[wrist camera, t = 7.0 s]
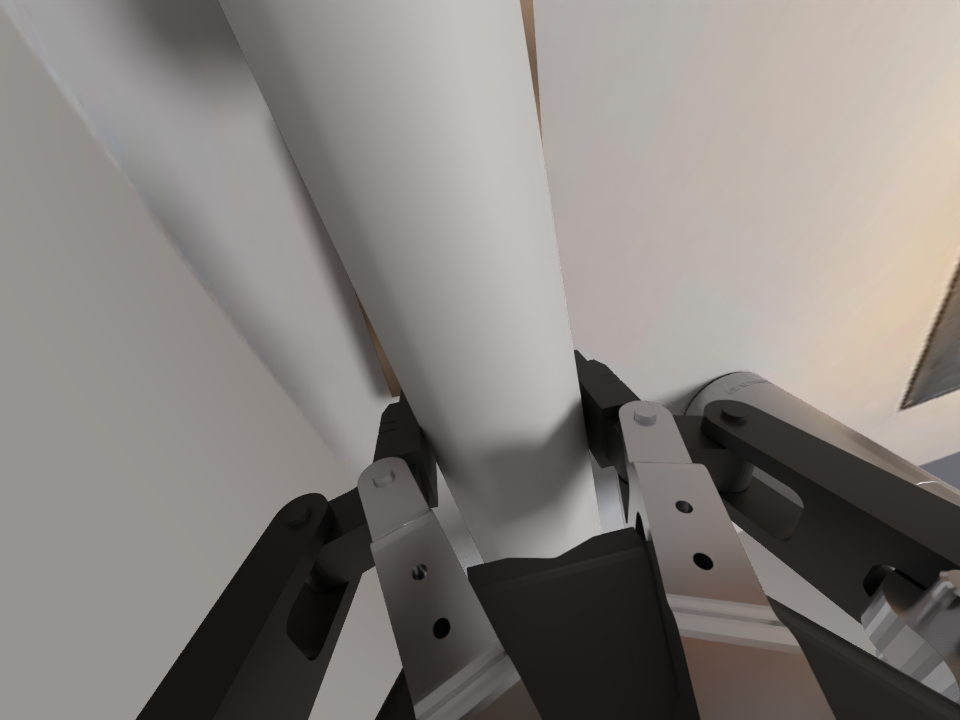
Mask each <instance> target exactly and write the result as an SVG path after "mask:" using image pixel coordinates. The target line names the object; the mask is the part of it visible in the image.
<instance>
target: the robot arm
mask: <svg viewBox="0 0 960 720" xmlns="http://www.w3.org/2000/svg"><path fill="white" fill-rule="evenodd" d="M574 356H575V362H576V369H577V375H578V382H579V388H580V395H581V401H582V408H583V414H584V421H585V427H586V434H587V440H588V447H589V449H590V451H591V453H592V454H593V456H594V457H595V459H596V461H597V462H598V464H599V465H600V467H601V468H605V467H609V466H614V468H615V469H616V471H617V476H616V481H617V488H618V494H619V500H620V506H621V512H622V518H623V524H624V529H621V530H617V531H613V532H609V533H605V534H601V535H597V536H593V537H591V538H590V539H588V540H586V541H584V542H583V543H581V544H579V545H577V546H576V547H574V548H572V549H570V550H569V551H567V552H565V553H563V554H562V555H560V556H558V557H555V558H511V557H508V558H504V559H500V560H496V561H492V562H488V563H484V564H480V565H476V566H472V567H468V568H467V575H468V578H467V576H466V574H465V573H464V571H463V569H462V567H461V565H460V563H459V561H458V559H457V557H456V555H455V553H454V551H453V549H452V547H451V545H450V543H449V541H448V539H447V537H446V535H445V533H444V531H443V530H442V528H441V526H440V524H439V522H438V520H437V518H436V516H435V514H434V512H433V511H432V509H430V508H434V507H438V492H437V469H436V460H435V458H434V455H433V453H432V451H431V449H430V447H429V445H428V443H427V441H426V439H425V436H424V434H423V432H422V430H421V428H420V425H419V424H418V422H417V420H416V417H415V415H414V413H413V411H412V409H411V407H410V405H409V403H408V401H407V398H406V396H405V394H404V392H403V390H402V388H401V392H400V400H399V402H397V403H393V404H389V405H388V407H387V408H386V409H385V411H384V412H383V413H382V416H381V422H380V427H379V435H378V438H377V444H376V449H375V454H374V460H373V463H372V464H371V465H369V466H368V467H367V468H366V469H365V470H364V471H363V472H362V474H361V475H360V477H359V479H358V484H357V487H355V488H354V489H353V490H351V491H349V492H347V493H345V494H343V495H341V496H339V497H337V498H335V499H333V500H331V501H329V502H328V501H327V499H326V498H325V497H324V496H323V495H321V494H319V493H309V494H306V495H302V496H300V497H298V498H295V499H294V500H292V501H290V502H289V503H288V504H286V505H285V506H284V507H283V508H282V509H281V510H280V511H279V512H278V513H277V514H276V516H275V517H274V518H273V520H272V521H271V523H270V524H269V526H268V527H267V529H266V530H265V532H264V533H263V535H262V536H261V537H260V539H259V540H258V542H257V543H256V545H255V546H254V548H253V549H252V550H251V552H250V554H249V555H248V556H247V558H246V559H245V561H244V562H243V564H242V565H241V567H240V568H239V570H238V571H237V573H236V574H235V575H234V577H233V578H232V580H231V581H230V583H229V584H228V586H227V587H226V589H225V590H224V592H223V593H222V594H221V596H220V597H219V599H218V600H217V602H216V603H215V605H214V606H213V607H212V609H211V610H210V612H209V613H208V615H207V616H206V618H205V619H204V621H203V622H202V623H201V625H200V626H199V628H198V630H197V631H196V632H195V634H194V635H193V637H192V638H191V640H190V641H189V643H188V644H187V645H186V647H185V649H184V650H183V651H182V653H181V654H180V656H179V657H178V659H177V660H176V661H175V663H174V664H173V666H172V667H171V669H170V670H169V672H168V673H167V675H166V676H165V677H164V679H163V680H162V682H161V684H160V685H159V686H158V688H157V689H156V691H155V692H154V694H153V695H152V697H151V698H150V700H149V701H148V702H147V704H146V705H145V707H144V708H143V710H142V711H141V713H140V714H139V715H138V717H137V718H136V720H308V718H309V715H310V713H311V710H312V708H313V705H314V702H315V699H316V697H317V694H318V691H319V689H320V686H321V683H322V681H323V678H324V675H325V673H326V670H327V667H328V665H329V662H330V659H331V657H332V654H333V651H334V648H335V646H336V643H337V640H338V637H339V635H340V632H341V630H342V627H343V624H344V622H345V619H346V616H347V614H348V611H349V608H350V606H351V603H352V600H353V598H354V595H355V592H356V590H357V587H358V584H359V582H360V579H361V576H362V573H364V572H365V571H367V570H369V569H370V568H372V567H374V566H376V570H377V573H378V577H379V581H380V585H381V588H382V592H383V596H384V599H385V603H386V607H387V610H388V614H389V618H390V622H391V625H392V629H393V633H394V636H395V640H396V644H397V648H398V651H399V655H400V658H401V662H402V666H403V668H402V670H401V672H400V674H399V675H398V677H397V679H396V681H395V683H394V685H393V687H392V688H391V690H390V692H389V694H388V696H387V698H386V700H385V702H384V703H383V705H382V707H381V709H380V711H379V713H378V715H377V717H376V718H375V720H960V490H958V489H956V488H954V487H953V486H951V485H949V484H947V483H945V482H944V481H942V480H940V479H938V478H937V477H935V476H933V475H931V474H930V473H928V472H926V471H924V470H923V469H921V468H919V467H917V466H916V465H914V464H912V463H911V462H909V461H907V460H905V459H904V458H902V457H900V456H898V455H897V454H895V453H893V452H891V451H890V450H888V449H886V448H884V447H883V446H881V445H879V444H877V443H876V442H874V441H872V440H870V439H869V438H867V437H865V436H863V435H862V434H860V433H858V432H856V431H855V430H853V429H851V428H849V427H848V426H846V425H844V424H842V423H841V422H839V421H837V420H835V419H834V418H832V417H830V416H828V415H827V414H825V413H823V412H821V411H820V410H818V409H816V408H815V407H813V406H811V405H809V404H808V403H806V402H804V401H802V400H801V399H799V398H797V397H795V396H794V395H792V394H790V393H788V392H787V391H785V390H783V389H781V388H780V387H778V386H776V385H774V384H773V383H771V382H769V381H767V380H766V379H764V378H762V377H760V376H759V375H756V374H754V373H750V372H739V373H733V374H730V375H727V376H724V377H722V378H720V379H718V380H716V381H714V382H713V383H711V384H710V385H708V386H707V387H706V388H704V389H703V390H702V391H701V392H700V393H699V394H698V395H697V396H696V397H695V399H694V400H693V401H692V403H691V404H690V406H689V408H688V409H687V412H686V415H685V416H677V415H672V414H671V412H670V411H669V410H668V409H667V408H665V407H664V406H662V405H660V404H657V403H654V402H650V401H641V400H640V399H639V398H638V397H637V396H636V395H635V394H634V393H633V392H632V391H631V390H630V389H629V388H628V387H627V386H626V385H625V384H624V383H623V382H622V381H620V379H619V378H618V377H617V376H616V375H615V374H613V372H612V371H611V370H610V369H609V368H608V367H607V366H606V365H605V364H602V363H600V362H598V361H596V360H594V359H593V360H589V361H587V360H586V359H585V358H584V357H583V356H582V355H581V354H580V352H579V351H578V350H574ZM731 521H733V522H734V523H735V524H736V525H738V526H739V527H740V528H741V529H743V530H744V531H745V532H746V533H748V534H749V535H750V536H751V537H753V538H754V539H755V540H756V541H758V542H759V543H760V544H761V545H763V546H764V547H765V548H767V549H768V550H769V551H770V552H771V553H773V554H774V555H775V556H776V557H778V558H779V559H780V560H781V561H783V562H784V563H785V564H786V565H788V566H789V567H790V568H792V569H793V570H794V571H795V572H796V573H798V574H799V575H800V576H802V577H803V578H804V579H805V580H806V581H808V582H809V583H810V584H811V585H813V586H814V587H815V588H816V589H818V590H819V591H820V592H821V593H823V594H824V595H825V596H826V597H828V598H829V599H830V600H831V601H833V602H834V603H835V604H836V605H838V606H839V607H840V608H842V609H843V610H844V611H845V612H846V613H848V614H849V615H850V616H852V617H853V618H854V619H855V620H856V621H858V622H859V623H861V624H862V625H863V628H864V630H865V632H866V634H867V635H868V637H869V639H870V640H871V641H872V643H873V644H874V646H875V647H876V656H877V657H874V656H873V655H871V654H870V653H868V652H866V651H864V650H862V649H861V648H859V647H857V646H855V645H854V644H852V643H850V642H848V641H846V640H845V639H843V638H841V637H840V636H838V635H836V634H834V633H832V632H831V631H829V630H827V629H825V628H824V627H822V626H820V625H818V624H816V623H815V622H813V621H811V620H810V619H808V618H806V617H804V616H803V615H801V614H799V613H797V612H795V611H793V610H792V609H790V608H788V607H787V606H785V605H783V604H781V603H779V602H778V601H776V600H774V599H772V598H771V597H769V596H767V595H765V593H764V591H763V589H762V586H761V584H760V582H759V580H758V578H757V575H756V574H755V571H754V569H753V567H752V565H751V562H750V560H749V558H748V556H747V554H746V552H745V550H744V547H743V545H742V543H741V541H740V539H739V537H738V535H737V532H736V530H735V528H734V526H733V524H732V522H731Z"/></svg>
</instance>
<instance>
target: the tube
mask: <svg viewBox="0 0 960 720" xmlns="http://www.w3.org/2000/svg"><path fill="white" fill-rule="evenodd" d="M218 2H219V4H220V6H221V8H222V10H223V12H224V14H225V16H226V18H227V21H228V23H229V25H230V27H231V29H232V31H233V33H234V35H235V37H236V40H237V42H238V44H239V46H240V48H241V50H242V52H243V54H244V56H245V59H246V61H247V63H248V65H249V67H250V69H251V71H252V73H253V75H254V78H255V80H256V82H257V84H258V86H259V88H260V90H261V92H262V94H263V97H264V99H265V101H266V103H267V105H268V107H269V109H270V111H271V113H272V116H273V118H274V120H275V122H276V124H277V126H278V128H279V130H280V132H281V135H282V137H283V139H284V141H285V143H286V145H287V147H288V149H289V151H290V154H291V156H292V158H293V160H294V162H295V164H296V166H297V168H298V170H299V173H300V175H301V177H302V179H303V181H304V183H305V185H306V187H307V189H308V192H309V194H310V196H311V198H312V200H313V202H314V204H315V206H316V208H317V211H318V213H319V215H320V217H321V219H322V221H323V223H324V225H325V227H326V230H327V232H328V234H329V236H330V238H331V240H332V242H333V244H334V246H335V249H336V251H337V253H338V255H339V257H340V259H341V261H342V263H343V265H344V268H345V270H346V272H347V274H348V276H349V278H350V280H351V282H352V284H353V287H354V289H355V291H356V293H357V295H358V297H359V299H360V301H361V303H362V306H363V308H364V310H365V312H366V314H367V316H368V318H369V320H370V322H371V325H372V327H373V329H374V331H375V333H376V335H377V337H378V339H379V341H380V344H381V346H382V348H383V350H384V352H385V354H386V356H387V358H388V360H389V363H390V365H391V367H392V369H393V371H394V373H395V375H396V377H397V379H398V382H399V384H400V386H401V388H402V390H403V392H404V394H405V396H406V398H407V401H408V403H409V405H410V407H411V409H412V411H413V413H414V415H415V417H416V420H417V422H418V424H419V425H420V428H421V430H422V432H423V434H424V436H425V439H426V441H427V443H428V445H429V447H430V449H431V451H432V453H433V455H434V458H435V460H436V462H437V464H438V466H439V468H440V470H441V472H442V474H443V477H444V479H445V481H446V483H447V485H448V487H449V489H450V491H451V493H452V496H453V498H454V500H455V502H456V504H457V506H458V508H459V510H460V512H461V515H462V517H463V519H464V521H465V523H466V525H467V527H468V529H469V531H470V534H471V536H472V538H473V540H474V542H475V544H476V546H477V548H478V550H479V553H480V555H481V557H482V559H483V561H484V563H488V562H492V561H496V560H500V559H504V558H508V557H511V558H555V557H558V556H560V555H562V554H563V553H565V552H567V551H569V550H570V549H572V548H574V547H576V546H577V545H579V544H581V543H583V542H584V541H586V540H588V539H590V538H591V537H593V536H597V535H601V534H602V531H601V525H600V518H599V512H598V505H597V499H596V492H595V486H594V479H593V473H592V466H591V460H590V453H589V447H588V440H587V434H586V427H585V421H584V414H583V408H582V401H581V395H580V388H579V382H578V375H577V369H576V362H575V356H574V349H573V343H572V336H571V330H570V324H569V317H568V311H567V304H566V298H565V291H564V285H563V278H562V272H561V265H560V259H559V252H558V246H557V239H556V233H555V226H554V220H553V213H552V207H551V200H550V194H549V187H548V181H547V174H546V168H545V161H544V155H543V148H542V142H541V135H540V129H539V122H538V116H537V109H536V103H535V97H534V90H533V84H532V77H531V71H530V64H529V58H528V51H527V45H526V38H525V32H524V25H523V19H522V12H521V6H520V0H218Z"/></svg>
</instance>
